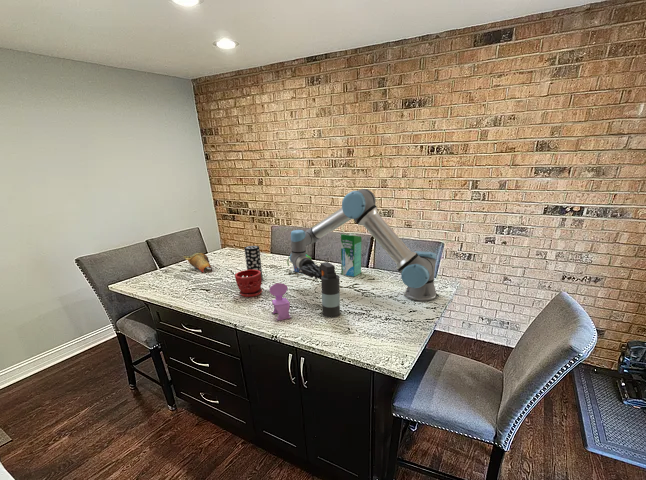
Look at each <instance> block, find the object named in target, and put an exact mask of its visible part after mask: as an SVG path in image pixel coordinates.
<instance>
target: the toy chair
mask: <svg viewBox="0 0 646 480" xmlns="http://www.w3.org/2000/svg"><path fill="white" fill-rule="evenodd" d="M287 291H288V286H287V284H285V283H281V282H277V283H274V284H272V285H271V286H270V287H269V290H268V292H269V293H270V294H271V295H272V296H273V297H275V299H271V303H272V305H273V311H272V314H273V315H274V314H278V316H277V319H276V321H283V320H288V319H291V318H292V317H291V315H290V307H291V303H290V301H289V300H288V298H287V297H283V296H284V295H285V294H286V293H287Z"/></svg>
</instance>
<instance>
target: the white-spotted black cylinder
mask: <svg viewBox="0 0 646 480" xmlns="http://www.w3.org/2000/svg"><path fill="white" fill-rule="evenodd" d="M243 249H244V257H245V265H246V270H259V271H260V272H261V279H262V282H263V280H264V278H263V268H262V261H261V250H260V246H259V245H248V246H247V245H246V246H244V247H243ZM250 276H253V275H250Z"/></svg>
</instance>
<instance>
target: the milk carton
mask: <svg viewBox="0 0 646 480" xmlns="http://www.w3.org/2000/svg"><path fill="white" fill-rule="evenodd" d="M340 267H341V268H340V269H341V270H340V271H341V273H340V274H341V275H342V276H348V277H357V276H358V275H359V274H361V273H362V236H360V235H357V233H353V232H349V234H343V233H341V234H340Z"/></svg>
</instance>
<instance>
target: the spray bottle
mask: <svg viewBox="0 0 646 480" xmlns="http://www.w3.org/2000/svg"><path fill="white" fill-rule="evenodd" d="M320 265H321V270H322V271H324V275H323V276H321V280H320V281H321V282H320V283H321V311H322V316H323V317H325V318H337V317H339V316H340V315H341V296H340V295H341V292H340V290H341V289H340V276H339V275H338V274H337V273H336V266H335V265H334V264H332V263H330V262H328V261H325V262H320Z"/></svg>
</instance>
